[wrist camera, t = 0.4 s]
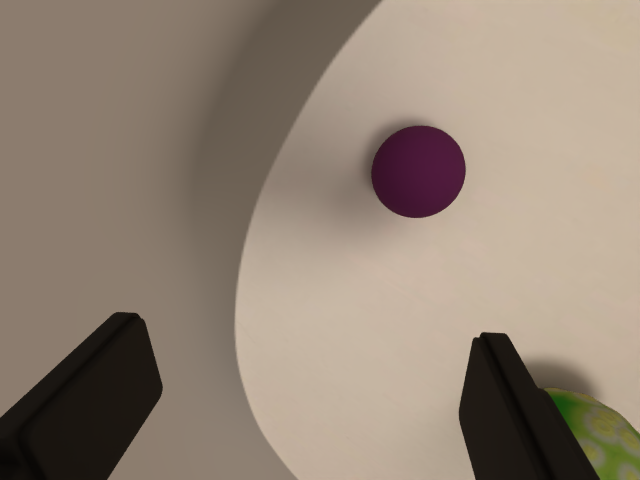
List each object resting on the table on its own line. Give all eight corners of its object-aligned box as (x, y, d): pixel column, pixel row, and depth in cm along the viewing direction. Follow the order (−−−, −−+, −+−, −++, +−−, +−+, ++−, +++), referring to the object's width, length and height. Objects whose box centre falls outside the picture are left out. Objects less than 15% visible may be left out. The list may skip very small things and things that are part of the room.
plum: (379, 115, 22) (384, 123, 17) (464, 128, 21) (492, 140, 17) (363, 195, 24) (363, 222, 19) (440, 208, 23) (459, 239, 19)
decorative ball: (552, 459, 32) (628, 610, 22) (452, 420, 31) (489, 559, 22) (632, 387, 27) (766, 537, 18) (520, 341, 27) (599, 471, 18)
